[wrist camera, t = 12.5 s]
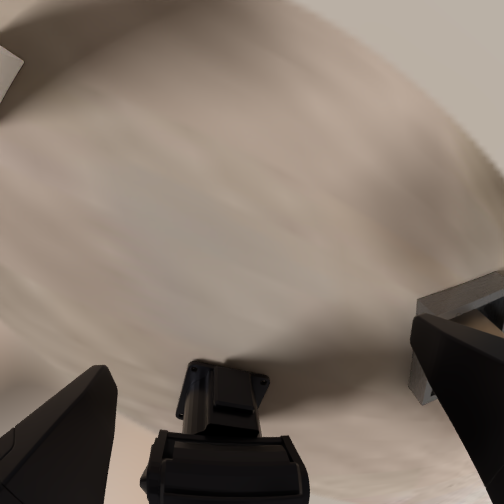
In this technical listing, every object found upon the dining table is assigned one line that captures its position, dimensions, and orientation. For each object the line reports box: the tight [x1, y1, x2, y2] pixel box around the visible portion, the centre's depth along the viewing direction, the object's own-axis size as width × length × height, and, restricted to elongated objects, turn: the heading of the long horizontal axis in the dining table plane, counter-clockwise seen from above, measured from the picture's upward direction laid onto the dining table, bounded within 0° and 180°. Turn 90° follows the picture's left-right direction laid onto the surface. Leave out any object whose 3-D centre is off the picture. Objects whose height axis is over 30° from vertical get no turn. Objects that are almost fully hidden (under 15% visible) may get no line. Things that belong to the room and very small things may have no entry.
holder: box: [408, 272, 504, 405], centre depth 24 cm, size 10×10×3 cm
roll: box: [449, 309, 504, 338], centre depth 19 cm, size 6×6×13 cm
